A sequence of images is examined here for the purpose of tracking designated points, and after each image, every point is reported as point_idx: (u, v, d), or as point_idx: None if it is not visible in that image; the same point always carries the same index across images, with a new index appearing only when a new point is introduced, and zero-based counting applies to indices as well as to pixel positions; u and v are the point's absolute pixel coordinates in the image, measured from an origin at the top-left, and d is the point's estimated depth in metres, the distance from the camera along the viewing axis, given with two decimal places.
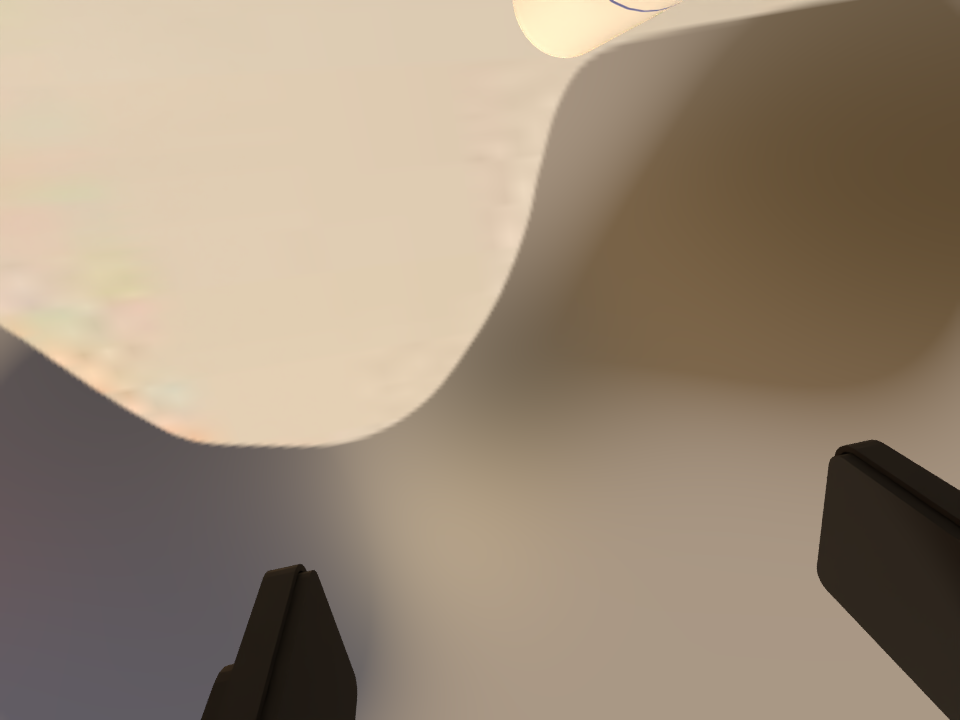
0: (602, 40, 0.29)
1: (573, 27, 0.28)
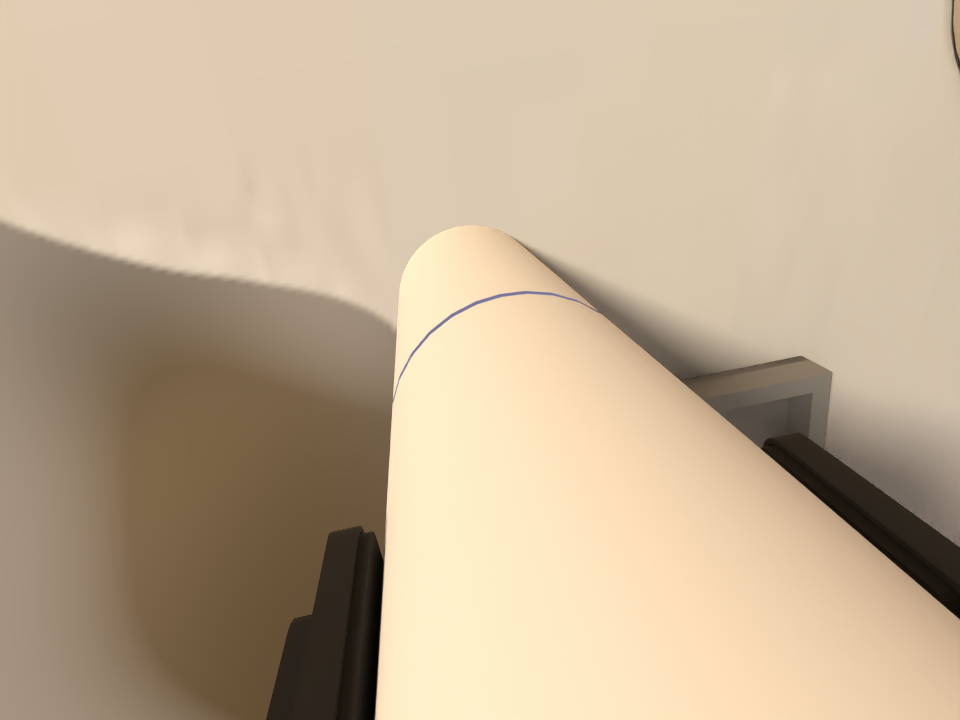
0: None
1: (403, 312, 0.19)
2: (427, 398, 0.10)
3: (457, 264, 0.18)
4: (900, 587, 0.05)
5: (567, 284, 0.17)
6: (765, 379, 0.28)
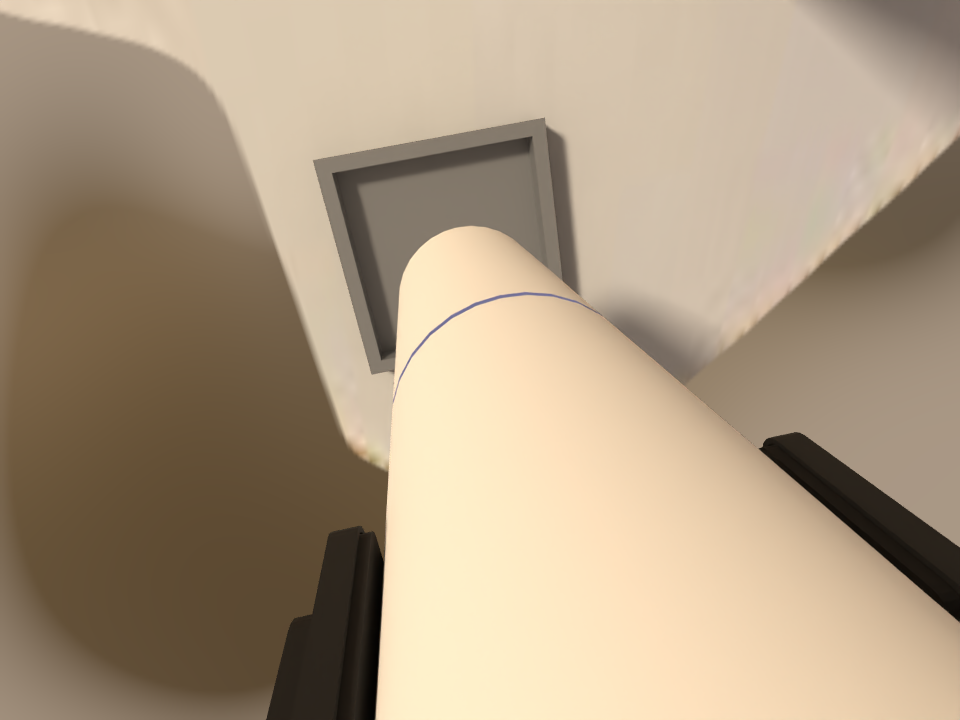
0: None
1: (403, 313, 0.19)
2: (427, 399, 0.10)
3: (457, 265, 0.18)
4: (899, 589, 0.05)
5: (567, 285, 0.17)
6: None
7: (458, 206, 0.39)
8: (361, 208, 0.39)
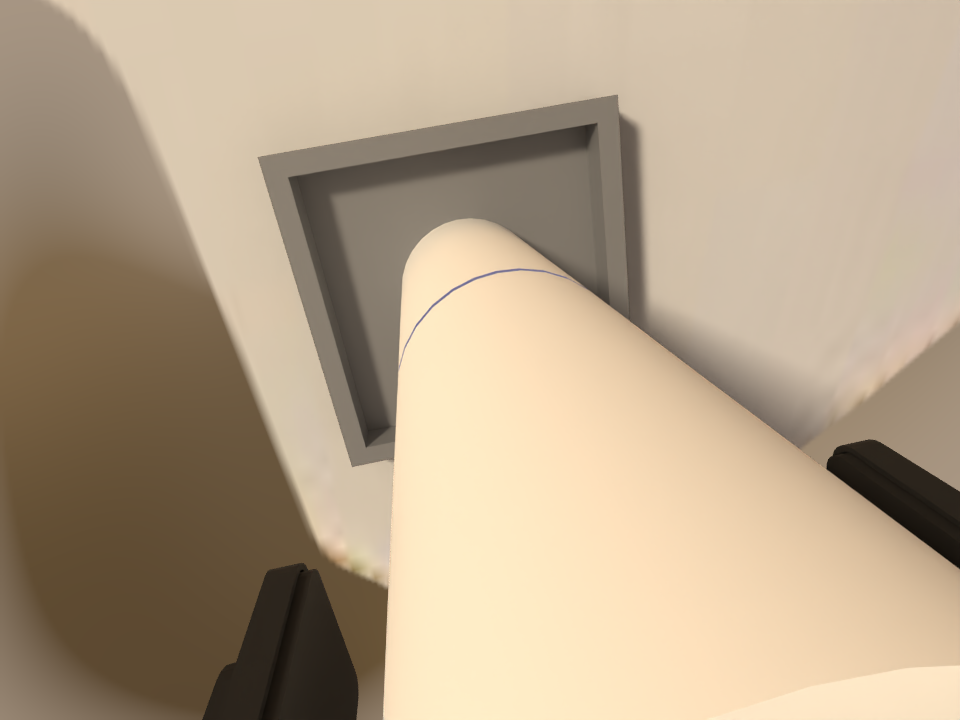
0: None
1: (407, 295, 0.20)
2: (431, 355, 0.12)
3: (457, 249, 0.19)
4: (804, 460, 0.06)
5: None
6: None
7: None
8: (336, 229, 0.26)
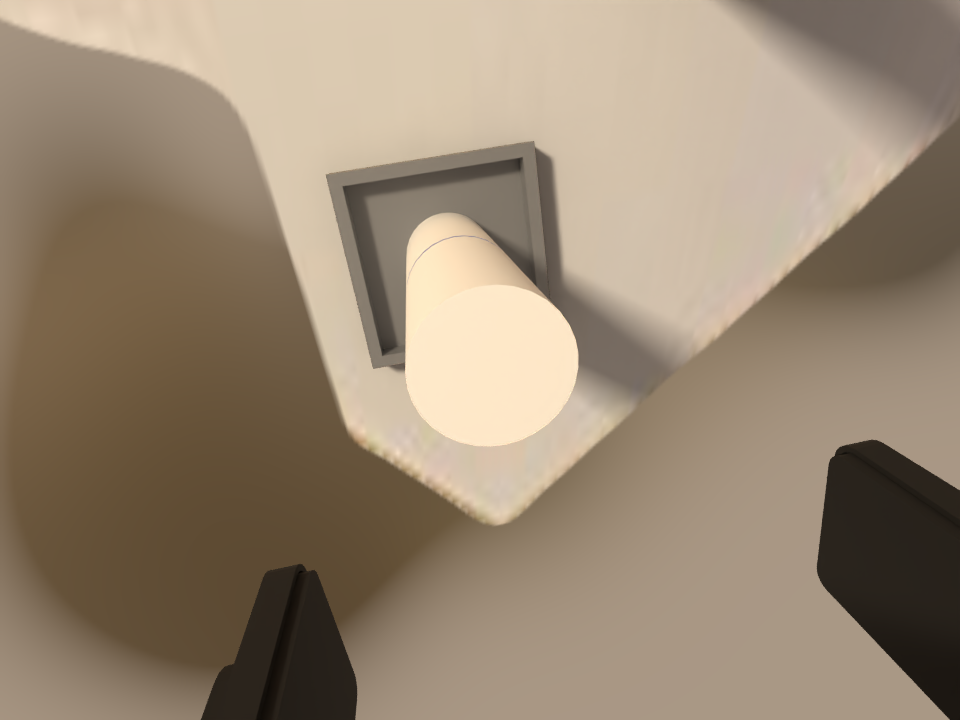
0: None
1: (410, 253, 0.37)
2: (421, 267, 0.29)
3: (438, 228, 0.36)
4: (519, 276, 0.23)
5: (491, 239, 0.36)
6: None
7: None
8: (367, 218, 0.43)
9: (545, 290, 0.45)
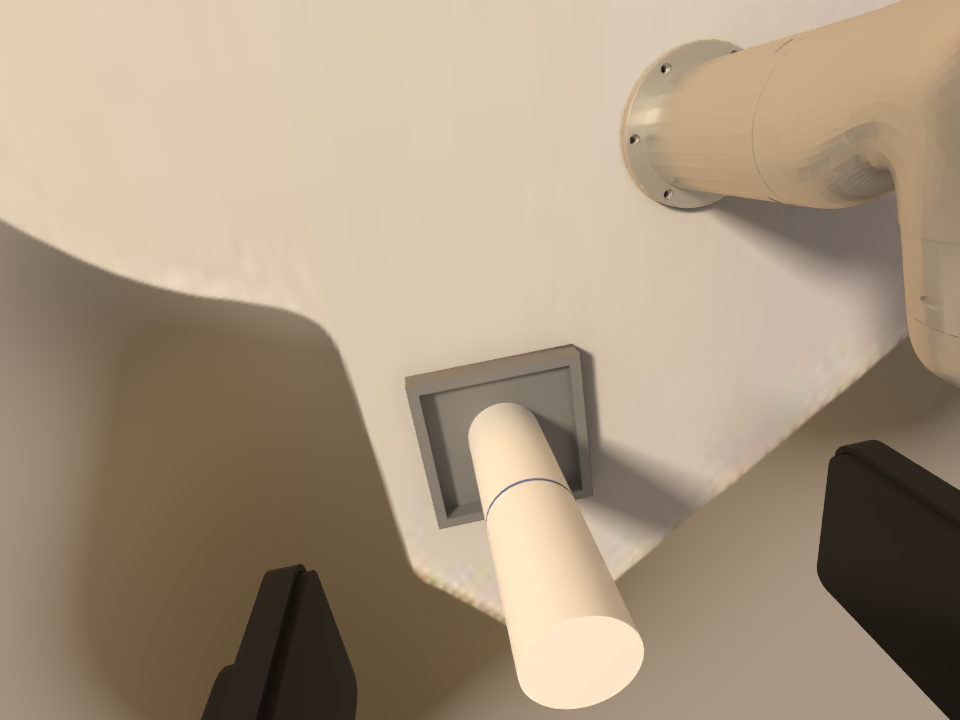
0: None
1: (481, 464, 0.44)
2: (506, 525, 0.36)
3: (505, 448, 0.43)
4: (596, 578, 0.30)
5: (550, 458, 0.43)
6: (542, 357, 0.48)
7: None
8: (436, 410, 0.50)
9: (587, 462, 0.52)
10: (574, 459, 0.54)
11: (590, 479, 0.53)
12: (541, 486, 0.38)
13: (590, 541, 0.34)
